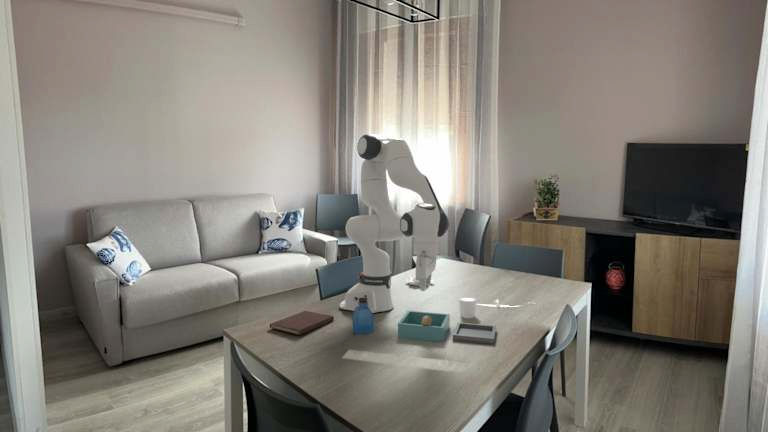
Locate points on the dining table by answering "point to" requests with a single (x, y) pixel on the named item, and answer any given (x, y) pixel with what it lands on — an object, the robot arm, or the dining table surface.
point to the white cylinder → (467, 307)
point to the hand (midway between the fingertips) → (425, 287)
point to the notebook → (301, 322)
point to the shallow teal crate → (424, 326)
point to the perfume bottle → (362, 318)
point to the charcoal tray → (474, 333)
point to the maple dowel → (426, 320)
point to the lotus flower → (415, 281)
